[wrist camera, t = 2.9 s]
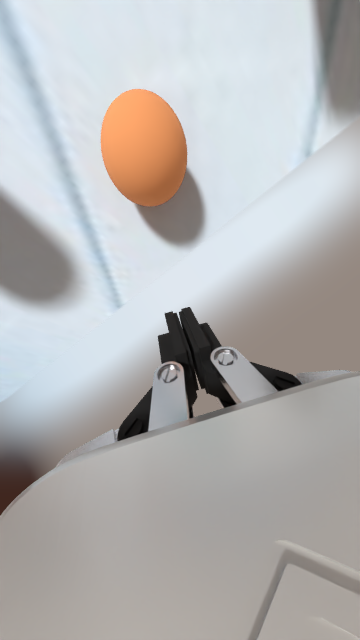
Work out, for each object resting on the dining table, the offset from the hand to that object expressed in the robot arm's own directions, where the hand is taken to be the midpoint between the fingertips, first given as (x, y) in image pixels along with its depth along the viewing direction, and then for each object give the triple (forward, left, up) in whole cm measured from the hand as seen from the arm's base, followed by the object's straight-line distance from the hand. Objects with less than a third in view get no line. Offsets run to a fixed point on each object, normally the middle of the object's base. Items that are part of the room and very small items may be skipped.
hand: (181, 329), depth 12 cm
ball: (-1, -10, -7) cm, 12 cm away
